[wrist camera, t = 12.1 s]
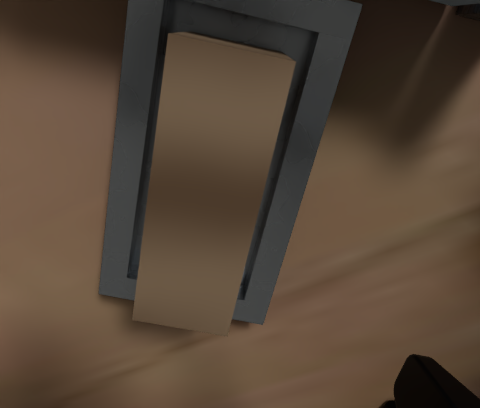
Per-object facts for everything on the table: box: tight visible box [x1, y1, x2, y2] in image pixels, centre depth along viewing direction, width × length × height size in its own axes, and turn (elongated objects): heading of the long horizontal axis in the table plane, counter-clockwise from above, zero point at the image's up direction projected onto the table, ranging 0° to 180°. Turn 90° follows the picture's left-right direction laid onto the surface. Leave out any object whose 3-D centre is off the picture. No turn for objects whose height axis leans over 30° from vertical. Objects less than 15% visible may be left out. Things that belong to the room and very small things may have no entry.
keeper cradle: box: [99, 0, 363, 325], centre depth 17 cm, size 14×8×2 cm, turn 167°
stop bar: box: [132, 31, 296, 336], centre depth 15 cm, size 10×4×5 cm, turn 168°
